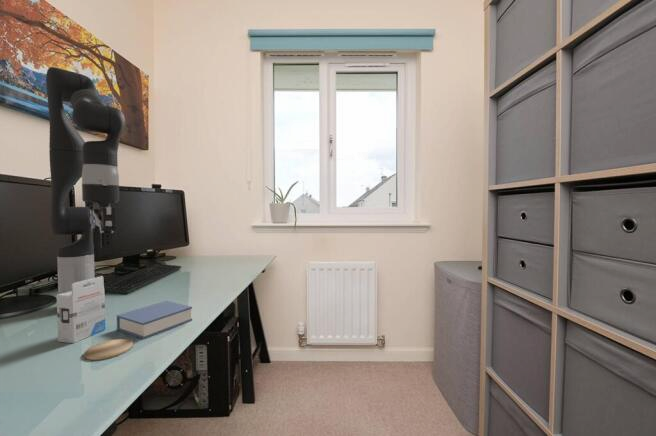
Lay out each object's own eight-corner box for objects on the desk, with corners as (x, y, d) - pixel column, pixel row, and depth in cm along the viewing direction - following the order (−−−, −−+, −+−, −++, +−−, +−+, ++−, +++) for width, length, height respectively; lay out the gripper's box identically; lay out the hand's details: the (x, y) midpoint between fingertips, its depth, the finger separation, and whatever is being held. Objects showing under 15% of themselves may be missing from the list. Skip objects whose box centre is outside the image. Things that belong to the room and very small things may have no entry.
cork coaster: (76, 354, 66) (76, 351, 66) (120, 338, 74) (120, 336, 74) (97, 364, 61) (96, 361, 61) (141, 346, 69) (141, 343, 69)
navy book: (116, 329, 79) (116, 315, 79) (166, 313, 91) (166, 300, 91) (143, 339, 73) (142, 323, 73) (192, 320, 86) (192, 306, 85)
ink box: (91, 328, 80) (90, 274, 80) (106, 329, 79) (105, 275, 79) (56, 342, 72) (55, 282, 71) (72, 343, 71) (71, 283, 70)
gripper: (76, 183, 77) (77, 244, 78) (89, 181, 68) (90, 251, 68) (110, 185, 82) (111, 242, 83) (126, 183, 73) (127, 247, 74)
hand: (102, 246), depth 76 cm, fingers open, 8 cm apart
